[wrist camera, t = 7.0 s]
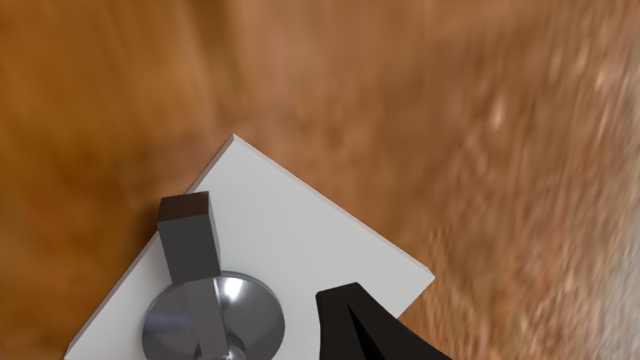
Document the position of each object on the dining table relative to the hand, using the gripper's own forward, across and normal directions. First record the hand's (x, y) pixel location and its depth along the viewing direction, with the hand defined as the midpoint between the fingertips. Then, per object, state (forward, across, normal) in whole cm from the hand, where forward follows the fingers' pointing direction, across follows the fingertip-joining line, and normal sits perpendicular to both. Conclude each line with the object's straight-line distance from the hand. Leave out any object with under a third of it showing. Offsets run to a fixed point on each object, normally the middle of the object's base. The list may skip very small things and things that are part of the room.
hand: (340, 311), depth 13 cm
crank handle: (+8, +5, +4) cm, 10 cm away
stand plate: (+9, +3, +7) cm, 12 cm away
